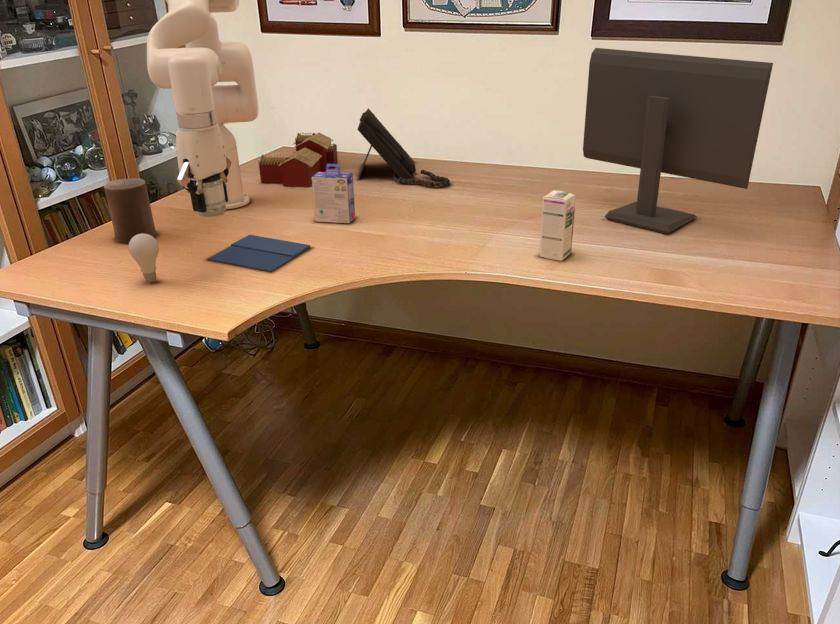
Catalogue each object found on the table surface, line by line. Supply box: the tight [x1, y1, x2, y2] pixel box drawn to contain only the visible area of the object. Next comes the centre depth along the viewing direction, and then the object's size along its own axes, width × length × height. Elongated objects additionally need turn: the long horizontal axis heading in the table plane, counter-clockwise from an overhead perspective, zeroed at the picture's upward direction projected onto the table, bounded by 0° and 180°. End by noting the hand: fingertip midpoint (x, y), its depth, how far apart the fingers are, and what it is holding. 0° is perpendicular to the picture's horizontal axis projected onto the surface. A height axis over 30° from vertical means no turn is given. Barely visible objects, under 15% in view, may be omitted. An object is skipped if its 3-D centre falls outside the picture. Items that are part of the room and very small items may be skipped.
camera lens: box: [194, 175, 227, 218], centre depth 150 cm, size 6×6×8 cm
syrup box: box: [539, 189, 577, 262], centre depth 161 cm, size 6×6×14 cm
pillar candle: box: [103, 177, 157, 244], centre depth 176 cm, size 10×10×15 cm
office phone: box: [357, 107, 451, 188], centre depth 219 cm, size 29×28×20 cm
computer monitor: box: [582, 47, 774, 235], centre depth 176 cm, size 44×16×40 cm, turn 47°
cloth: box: [207, 234, 311, 273], centre depth 168 cm, size 18×16×1 cm
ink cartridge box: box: [311, 163, 356, 224], centre depth 185 cm, size 10×6×14 cm, turn 78°
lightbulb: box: [127, 234, 160, 284], centre depth 152 cm, size 6×6×11 cm
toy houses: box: [255, 132, 339, 188], centre depth 232 cm, size 45×20×10 cm, turn 173°
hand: (210, 205), depth 151 cm, fingers closed on camera lens, 6 cm apart
